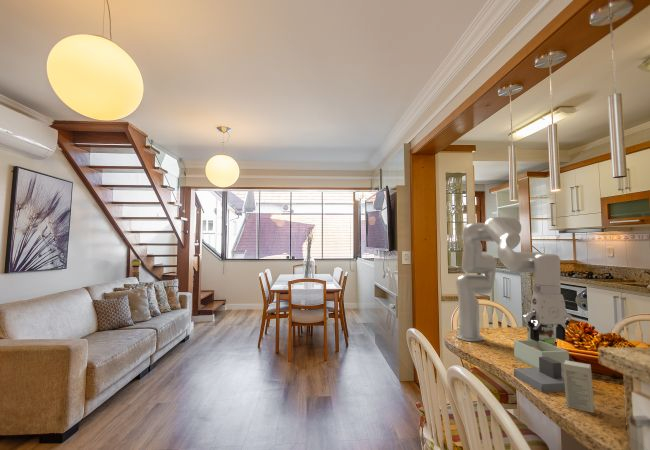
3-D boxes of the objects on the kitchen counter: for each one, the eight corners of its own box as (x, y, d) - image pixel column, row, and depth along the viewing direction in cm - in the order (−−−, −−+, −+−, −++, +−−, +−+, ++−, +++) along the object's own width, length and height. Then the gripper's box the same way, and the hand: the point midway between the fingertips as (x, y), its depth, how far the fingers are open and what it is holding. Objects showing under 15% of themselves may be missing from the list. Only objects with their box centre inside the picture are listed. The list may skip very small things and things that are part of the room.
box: (514, 357, 135) (513, 340, 135) (538, 356, 136) (538, 339, 136) (542, 371, 120) (541, 352, 120) (569, 370, 121) (568, 351, 121)
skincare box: (594, 408, 93) (592, 364, 94) (593, 414, 90) (591, 368, 90) (566, 400, 97) (564, 359, 98) (564, 406, 94) (563, 362, 95)
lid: (542, 392, 102) (541, 367, 103) (514, 376, 115) (513, 354, 116) (590, 390, 104) (589, 366, 105) (557, 374, 117) (556, 352, 118)
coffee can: (560, 352, 142) (559, 319, 142) (542, 354, 139) (540, 321, 140) (539, 345, 151) (538, 314, 152) (521, 347, 149) (520, 316, 150)
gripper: (532, 292, 107) (532, 344, 107) (579, 291, 109) (580, 342, 108) (516, 288, 115) (516, 337, 114) (560, 287, 116) (561, 335, 116)
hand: (547, 339), depth 111 cm, fingers open, 9 cm apart
